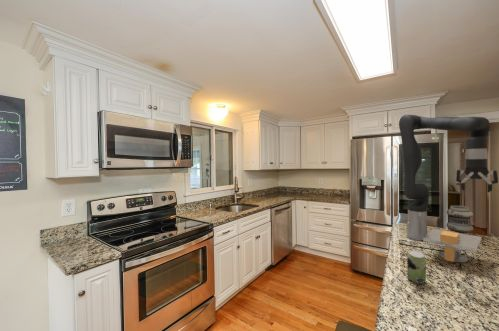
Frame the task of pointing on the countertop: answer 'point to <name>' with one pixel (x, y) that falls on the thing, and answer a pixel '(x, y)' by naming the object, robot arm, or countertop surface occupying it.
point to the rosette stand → (464, 243)
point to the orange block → (450, 238)
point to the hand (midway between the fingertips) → (476, 191)
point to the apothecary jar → (459, 219)
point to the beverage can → (416, 266)
